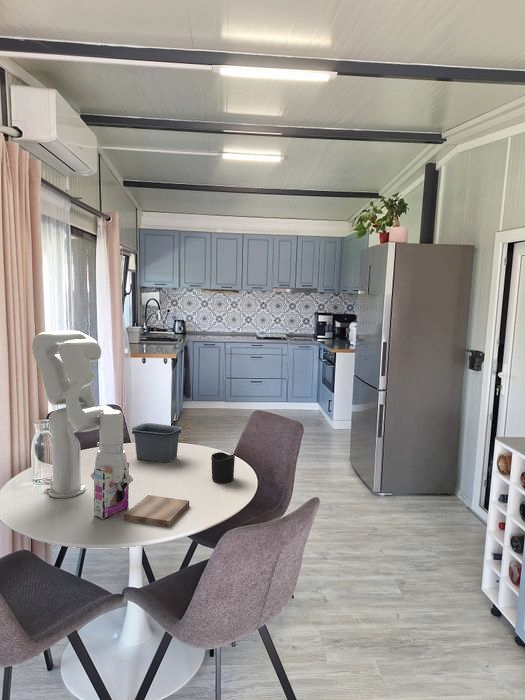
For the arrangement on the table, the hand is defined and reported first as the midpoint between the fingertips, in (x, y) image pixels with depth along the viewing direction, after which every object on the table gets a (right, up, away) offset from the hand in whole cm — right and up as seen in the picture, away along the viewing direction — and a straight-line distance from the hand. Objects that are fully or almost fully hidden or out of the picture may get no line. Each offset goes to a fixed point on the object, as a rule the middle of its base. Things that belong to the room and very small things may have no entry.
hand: (111, 498), depth 156 cm
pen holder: (+35, -3, +32) cm, 47 cm away
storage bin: (+3, +1, +56) cm, 56 cm away
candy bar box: (0, -5, 0) cm, 5 cm away
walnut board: (+15, -5, +1) cm, 16 cm away
